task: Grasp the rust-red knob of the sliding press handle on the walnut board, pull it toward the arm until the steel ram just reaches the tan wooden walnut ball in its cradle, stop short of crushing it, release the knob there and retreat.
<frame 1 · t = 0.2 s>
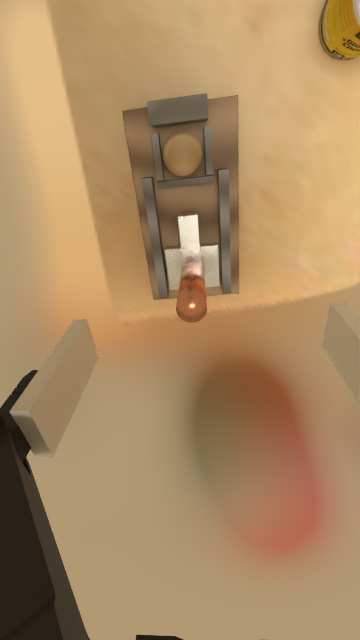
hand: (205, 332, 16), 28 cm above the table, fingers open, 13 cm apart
lever handle: (190, 266, 35), point 8 cm above the table, slide at 0.0 cm
pill bottle: (350, 20, 30), on the table
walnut: (183, 154, 35), point 1 cm above the table, touching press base
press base: (188, 213, 40), on the table
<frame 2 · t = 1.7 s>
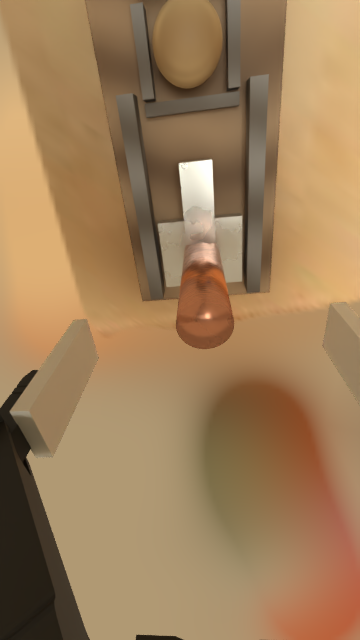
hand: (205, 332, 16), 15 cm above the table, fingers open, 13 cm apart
lever handle: (200, 248, 21), point 8 cm above the table, slide at 0.0 cm
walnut: (188, 52, 20), point 1 cm above the table, touching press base
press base: (195, 164, 25), on the table
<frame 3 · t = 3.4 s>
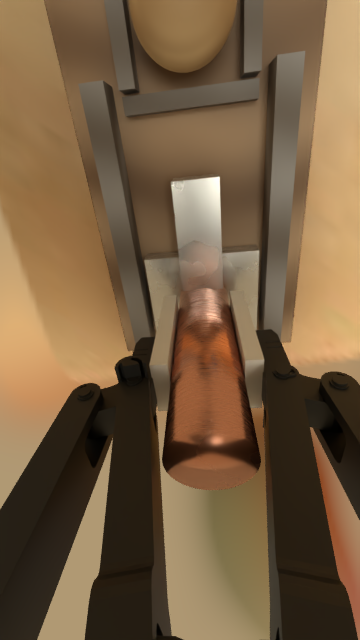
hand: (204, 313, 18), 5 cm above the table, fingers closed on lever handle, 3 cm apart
lever handle: (203, 306, 14), point 8 cm above the table, slide at 0.0 cm, touching gripper
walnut: (184, 22, 14), point 1 cm above the table, touching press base
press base: (196, 180, 19), on the table
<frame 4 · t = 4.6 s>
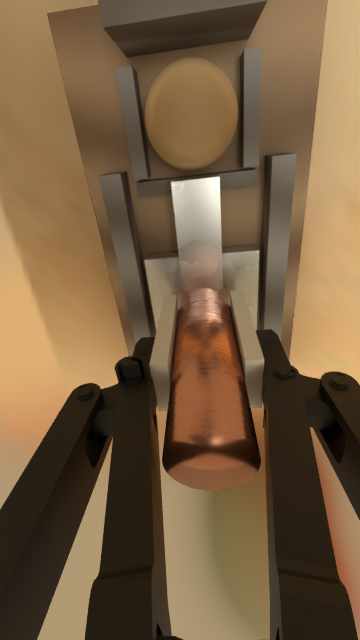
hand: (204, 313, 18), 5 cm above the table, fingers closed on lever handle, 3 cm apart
lever handle: (203, 306, 14), point 8 cm above the table, slide at 4.0 cm, touching gripper
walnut: (191, 121, 16), point 1 cm above the table, touching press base
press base: (200, 243, 21), on the table
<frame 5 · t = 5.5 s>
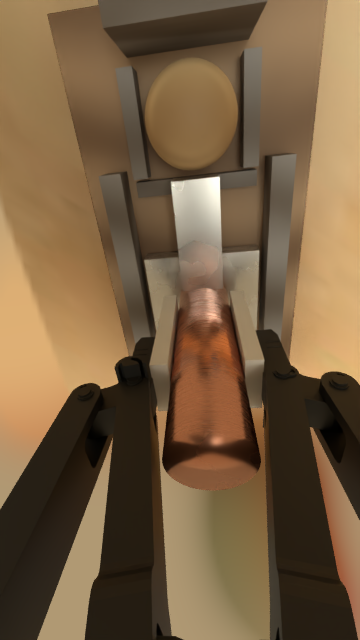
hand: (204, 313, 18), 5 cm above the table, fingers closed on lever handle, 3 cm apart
lever handle: (203, 306, 14), point 8 cm above the table, slide at 4.0 cm, touching gripper
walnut: (191, 122, 16), point 1 cm above the table, touching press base
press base: (200, 243, 21), on the table
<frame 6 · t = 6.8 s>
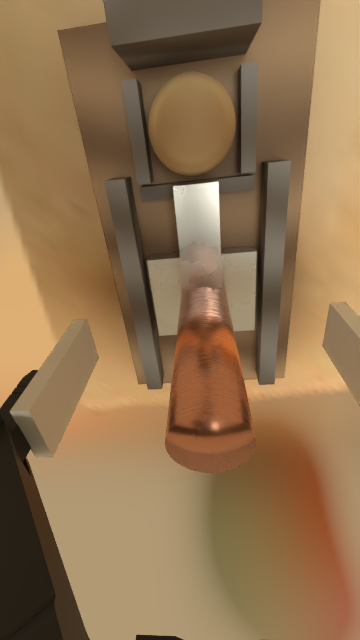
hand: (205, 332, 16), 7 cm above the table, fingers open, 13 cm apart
lever handle: (202, 303, 15), point 8 cm above the table, slide at 4.0 cm
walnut: (192, 130, 17), point 1 cm above the table, touching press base
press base: (200, 244, 21), on the table
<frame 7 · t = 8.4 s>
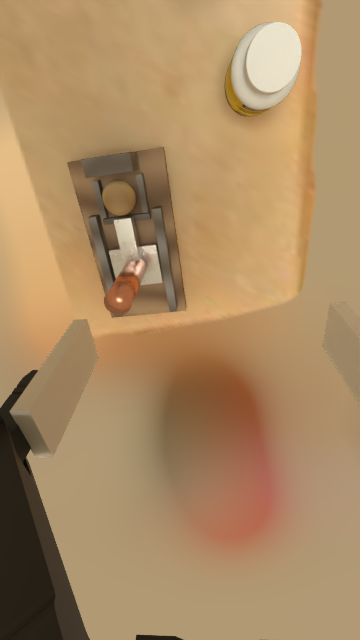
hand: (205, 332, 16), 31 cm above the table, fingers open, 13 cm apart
lever handle: (125, 265, 39), point 8 cm above the table, slide at 4.0 cm
pill bottle: (251, 84, 35), on the table
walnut: (122, 195, 41), point 1 cm above the table, touching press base
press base: (135, 243, 46), on the table
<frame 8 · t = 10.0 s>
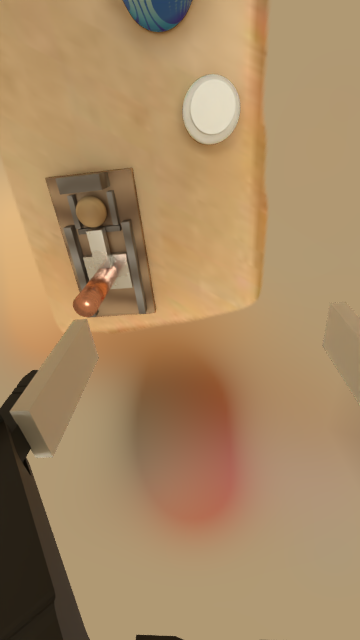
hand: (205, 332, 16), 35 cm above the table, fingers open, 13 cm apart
lever handle: (95, 272, 44), point 8 cm above the table, slide at 4.0 cm
pill bottle: (208, 117, 40), on the table
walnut: (95, 209, 46), point 1 cm above the table, touching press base
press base: (108, 250, 50), on the table
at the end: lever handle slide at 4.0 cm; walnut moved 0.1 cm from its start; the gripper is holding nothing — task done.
